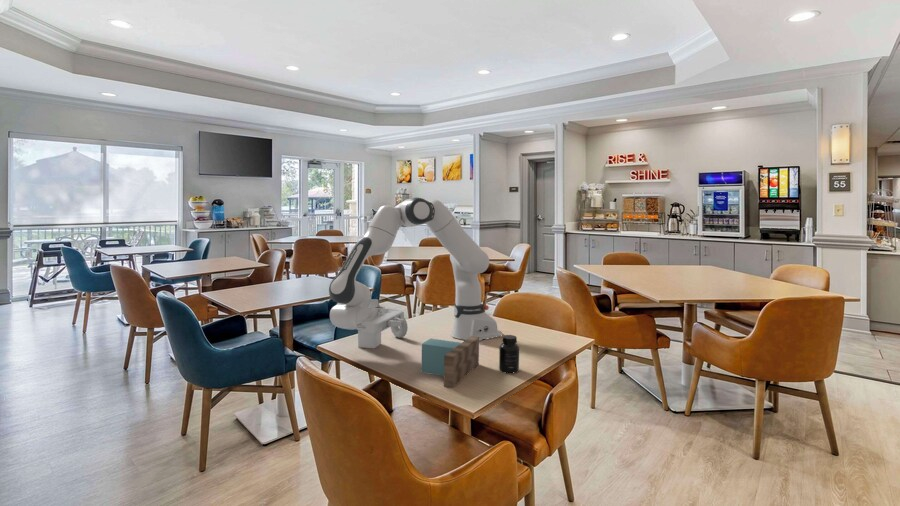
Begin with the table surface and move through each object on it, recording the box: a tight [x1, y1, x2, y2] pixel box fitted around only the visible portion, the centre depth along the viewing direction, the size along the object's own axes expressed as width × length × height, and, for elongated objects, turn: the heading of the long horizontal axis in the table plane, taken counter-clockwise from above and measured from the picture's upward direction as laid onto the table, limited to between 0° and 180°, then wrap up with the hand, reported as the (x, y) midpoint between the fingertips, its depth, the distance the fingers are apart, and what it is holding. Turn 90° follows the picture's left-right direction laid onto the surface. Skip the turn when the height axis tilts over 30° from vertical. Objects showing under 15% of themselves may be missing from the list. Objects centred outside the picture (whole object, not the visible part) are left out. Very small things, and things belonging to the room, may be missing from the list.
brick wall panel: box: [443, 336, 480, 389], centre depth 156 cm, size 24×3×10 cm, turn 157°
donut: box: [390, 317, 409, 339], centre depth 199 cm, size 10×4×10 cm, turn 43°
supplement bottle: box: [498, 334, 520, 374], centre depth 161 cm, size 7×7×12 cm
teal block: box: [421, 338, 462, 377], centre depth 159 cm, size 12×7×10 cm, turn 67°
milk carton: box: [357, 298, 382, 349], centre depth 186 cm, size 7×7×19 cm
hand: (403, 323), depth 166 cm, fingers closed
